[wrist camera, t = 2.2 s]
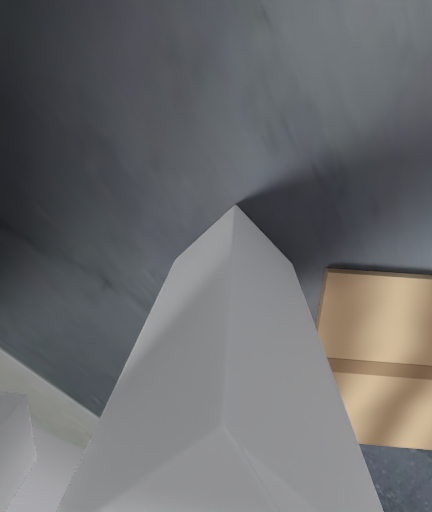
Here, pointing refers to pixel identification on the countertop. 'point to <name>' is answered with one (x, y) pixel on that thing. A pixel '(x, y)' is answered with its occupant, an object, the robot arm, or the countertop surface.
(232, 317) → the milk
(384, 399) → the flat cardboard box
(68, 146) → the countertop surface
